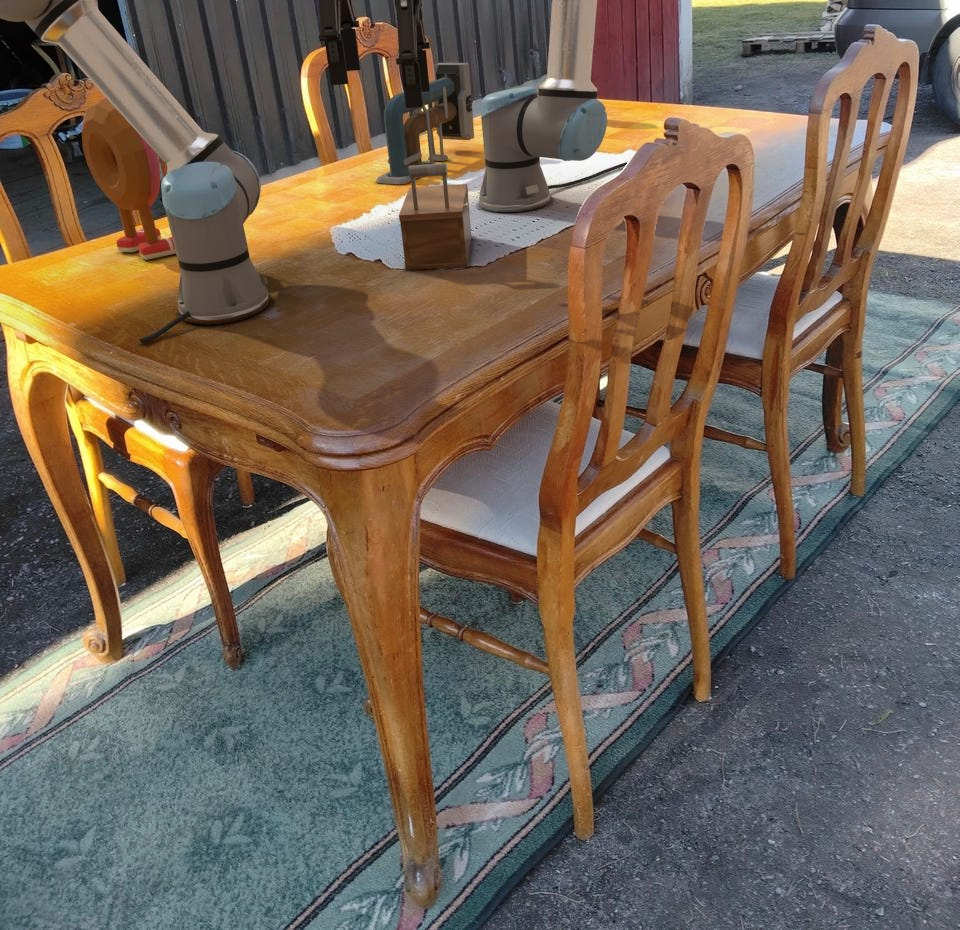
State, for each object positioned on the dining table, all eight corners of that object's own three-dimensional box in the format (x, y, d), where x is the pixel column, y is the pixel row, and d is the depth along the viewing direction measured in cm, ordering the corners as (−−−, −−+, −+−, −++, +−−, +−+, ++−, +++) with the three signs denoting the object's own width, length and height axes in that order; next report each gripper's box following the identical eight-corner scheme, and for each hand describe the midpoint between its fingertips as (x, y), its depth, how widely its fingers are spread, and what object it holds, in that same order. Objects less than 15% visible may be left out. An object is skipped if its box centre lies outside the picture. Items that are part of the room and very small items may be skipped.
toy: (201, 251, 195) (166, 95, 180) (157, 266, 189) (116, 105, 173) (147, 235, 208) (109, 88, 193) (104, 248, 202) (61, 97, 187)
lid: (462, 217, 170) (458, 167, 166) (399, 221, 171) (393, 171, 167) (467, 189, 186) (463, 142, 181) (409, 193, 187) (404, 146, 182)
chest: (467, 266, 176) (462, 216, 171) (405, 270, 176) (399, 220, 172) (471, 237, 191) (467, 189, 186) (415, 240, 191) (409, 193, 187)
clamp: (404, 184, 229) (393, 89, 218) (373, 182, 232) (361, 89, 222) (475, 149, 254) (468, 62, 243) (446, 148, 258) (439, 62, 247)
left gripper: (337, -68, 138) (357, 88, 149) (361, -74, 160) (378, 63, 170) (285, -64, 139) (309, 92, 149) (317, -70, 160) (336, 66, 171)
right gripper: (420, -43, 138) (435, 112, 149) (434, -52, 160) (445, 84, 170) (368, -39, 139) (387, 115, 149) (389, -48, 160) (403, 87, 171)
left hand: (346, 77), depth 160 cm, fingers open, 13 cm apart
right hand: (418, 99), depth 160 cm, fingers open, 13 cm apart
